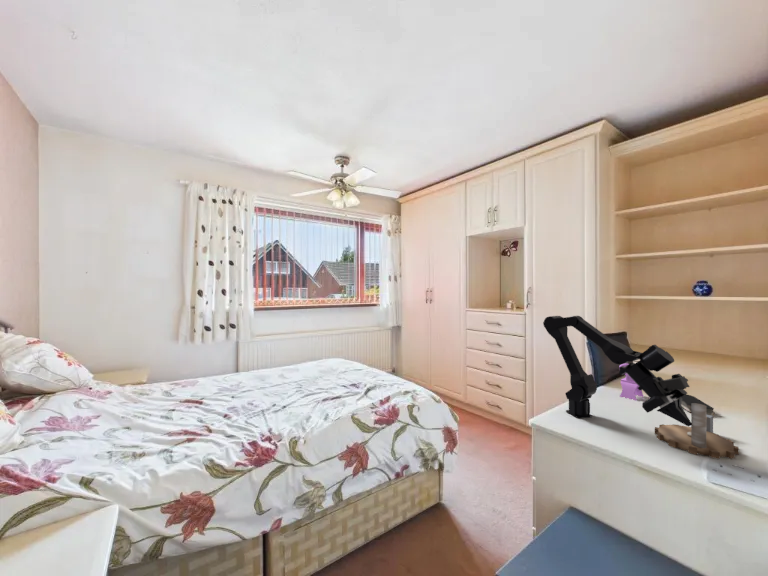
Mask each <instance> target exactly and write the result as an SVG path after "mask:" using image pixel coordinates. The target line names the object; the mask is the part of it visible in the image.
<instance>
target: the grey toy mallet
mask: <svg viewBox="0 0 768 576" xmlns="http://www.w3.org/2000/svg"><path fill="white" fill-rule="evenodd" d="M706 431H708V432H712V433H714V415H713V416H711V415H707V414H706Z"/></svg>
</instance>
